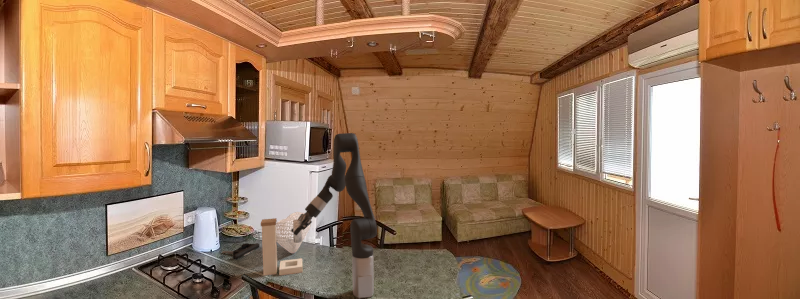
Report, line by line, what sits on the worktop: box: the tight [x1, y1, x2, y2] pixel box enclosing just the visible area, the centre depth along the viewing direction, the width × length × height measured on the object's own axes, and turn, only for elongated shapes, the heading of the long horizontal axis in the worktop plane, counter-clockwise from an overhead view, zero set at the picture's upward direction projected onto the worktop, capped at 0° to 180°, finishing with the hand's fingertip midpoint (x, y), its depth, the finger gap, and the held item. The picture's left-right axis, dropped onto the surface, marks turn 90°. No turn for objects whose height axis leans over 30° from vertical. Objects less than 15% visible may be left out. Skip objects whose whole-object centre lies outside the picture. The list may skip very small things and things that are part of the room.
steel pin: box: [292, 220, 303, 244], centre depth 164 cm, size 4×4×11 cm
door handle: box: [222, 242, 260, 260], centre depth 187 cm, size 3×20×16 cm
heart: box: [276, 211, 312, 254], centre depth 185 cm, size 28×16×22 cm, turn 173°
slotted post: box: [260, 217, 304, 276], centre depth 161 cm, size 11×19×27 cm, turn 108°
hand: (293, 233), depth 163 cm, fingers closed on steel pin, 4 cm apart
